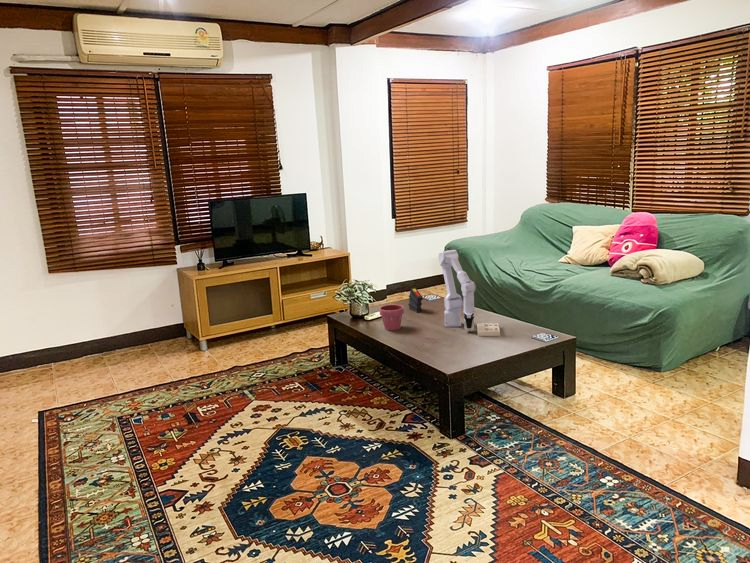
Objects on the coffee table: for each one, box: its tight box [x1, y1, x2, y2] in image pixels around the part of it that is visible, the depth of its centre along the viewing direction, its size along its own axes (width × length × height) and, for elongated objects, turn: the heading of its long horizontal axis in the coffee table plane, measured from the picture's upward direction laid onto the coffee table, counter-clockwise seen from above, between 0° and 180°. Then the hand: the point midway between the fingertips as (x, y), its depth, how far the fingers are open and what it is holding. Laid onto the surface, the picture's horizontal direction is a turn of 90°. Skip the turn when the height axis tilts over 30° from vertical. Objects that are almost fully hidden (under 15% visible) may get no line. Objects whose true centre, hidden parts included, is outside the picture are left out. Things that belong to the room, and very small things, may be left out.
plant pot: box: [379, 304, 405, 331], centre depth 332 cm, size 14×14×13 cm
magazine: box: [408, 286, 424, 313], centre depth 366 cm, size 4×13×15 cm, turn 24°
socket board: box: [476, 322, 501, 337], centre depth 318 cm, size 12×15×3 cm
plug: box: [463, 318, 475, 333], centre depth 319 cm, size 6×4×7 cm
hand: (469, 326), depth 319 cm, fingers closed on plug, 4 cm apart
